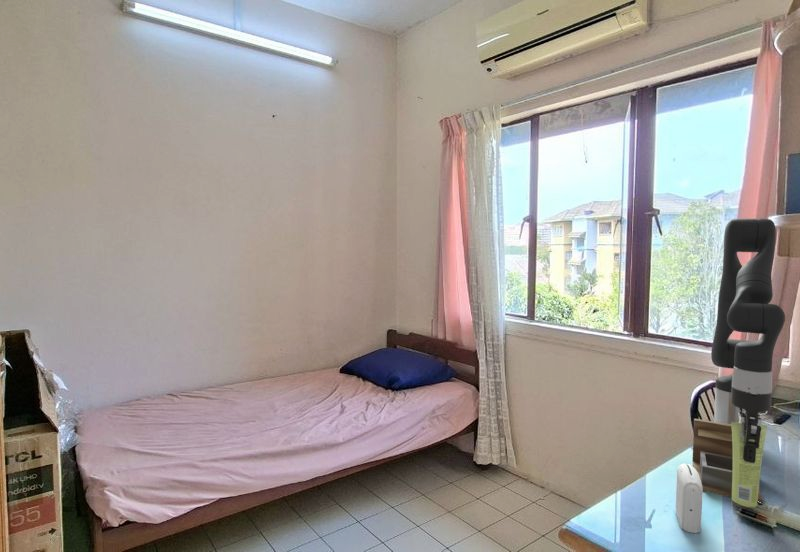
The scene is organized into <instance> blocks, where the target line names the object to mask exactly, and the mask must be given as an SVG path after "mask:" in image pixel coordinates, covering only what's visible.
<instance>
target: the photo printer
mask: <svg viewBox="0 0 800 552" xmlns="http://www.w3.org/2000/svg"><path fill="white" fill-rule="evenodd" d="M675 490H676V491H675V512H676V516H677V520H678V523H679V526H680V528H681V529H683V530H684V531H685V532H688V533H692V534H697V533H700V532H701V530H702V529H701V528H702V513H703V512H702V510H703V488H702V483H701V479H700V476H699V474H698V472H697V471H696V469H695V468H694V467H693V465H691V464H690V463H688V464H686V463H681V464H680V465H679V466H678V467H677V469H676V489H675Z"/></svg>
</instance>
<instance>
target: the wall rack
mask: <svg viewBox="0 0 800 552" xmlns="http://www.w3.org/2000/svg"><path fill="white" fill-rule="evenodd" d="M692 462H693V463H692V466H693V467H694V468H695V469H696V471H697V472H698V474H699V476H700V479H701V483H702V488H703V491H704V492H707V491H709V492H708V493H712V492H713V494H717V495H722V496H726V497H730V498H732V473H733V446H732V428H731V424H725V423H719V422H714V420H713V421H712V420H708V419H707V420H706V419H698V418H693V439H692ZM758 501H759V502H761V503H763V504H764V499H763V497H762V493H761V491H760V489H759V491H758Z"/></svg>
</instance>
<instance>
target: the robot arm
mask: <svg viewBox="0 0 800 552" xmlns="http://www.w3.org/2000/svg"><path fill="white" fill-rule="evenodd" d="M776 229H777V228H776V224H775V222H774V221H773V220H772V219H768V218H732V219H730V220H728V221H727V223H726V225H725V228H724V233H723V234H724V235H723V236H724V237H723V256H722V257H723V258H722V259H723V261H722V273H721V280H720V285H719V292H718V299H717V315H716V325H715V330H714V334H713V335H714V336H713V341H712V345H711V352H710V353H711V355H710V357H711V362H712V364H713V365H715V366H716V367H718V368H722V369H723V368H725V369H733V370H732V374H728V375H724V376H723V375H722V376H720V377H717V378H716V379H715V387H714V390H715V391H714V415H713V422H719V423H725V424H731V422H735V423H741V434H742V435H743V436H744V442H743V444H744V452H743V459H744V461H746V462H751V463H755V459H756V448H759V441H760V433H761V425H763V423H762V417H761V415H760V413H761V412H763V413H764V412H765V413H766V412H769V411H771V409H772V396H773V395H772V393H773V368H772V367H773V355H774V350H775V345H776V343H777V341H778V338H779V336H780V334H781V331H782V330H783V328H784V325H785V322H786V314H785V312H784V310H783V308H782V307H781V306H780V305H777V304H774V303H771V301H772V300H773V295H774V294H773V281H772V280H773V279H772V272H773V271H772V270H773V265H774V259H775V248H776V239H777V238H776V237H777V233H776V232H777V231H776ZM739 252H740V253H756V255H754V256H753V257H752V258H751V259H749V260H748V261H747V262H746V263H745V264H744V265H742V263H741V261H740V258H739V256H738V253H739ZM733 332H736V333H748V334H759V335H761V334H762V336H761V338H759V339H757V340H752V341H749V340H744V339H743V340H742V339H733V338H732V339H731V338H730V336H731V334H732V333H733ZM744 429H745V430H746V432H745V430H744ZM749 439H752V440H754V442H751V441H748V440H749Z"/></svg>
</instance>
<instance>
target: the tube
mask: <svg viewBox="0 0 800 552" xmlns="http://www.w3.org/2000/svg"><path fill="white" fill-rule="evenodd" d="M731 428H732V446H733V473H732V497H731V500H732V501H733V502H734V503H735V504H737V505H740V506H743V507H747V508H756V507H757V506H758V503H757V502H758V491H759V490H760V480H761V478H760V476H761V469H762V462H763V457H764V456H763V453H764V448H765V447H764V446H765V441H766V436H767V431H768V425H767V424H761V433H760V441H759V448H756V459H755V463H751V462H746V461H744V459H743V452H744V444H743V442H744V436H743V435H742V434H741V423H735V422H731ZM744 430H745V429H744ZM745 432H746V430H745ZM748 441H751V442H754V440H752V439H749V440H748Z"/></svg>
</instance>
